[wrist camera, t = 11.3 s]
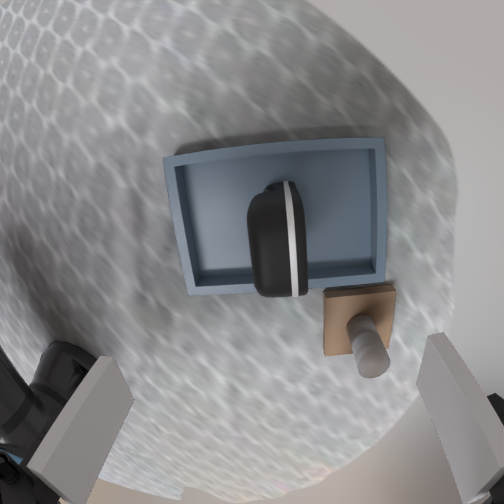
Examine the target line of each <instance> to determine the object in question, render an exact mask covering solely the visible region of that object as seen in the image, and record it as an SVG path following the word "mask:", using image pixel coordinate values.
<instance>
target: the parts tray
mask: <svg viewBox="0 0 504 504" xmlns="http://www.w3.org/2000/svg"><path fill="white" fill-rule="evenodd" d="M163 164H164V171H165V177H166V183H167V190H168V196H169V202H170V207H171V213H172V219H173V224H174V230H175V235H176V240H177V245H178V250H179V255H180V260H181V265H182V270H183V274H184V279H185V284H186V288H187V293H188V296H197V295H219V294H238V293H255V292H257V290H256V289H255V286H254V281H253V273H252V264H251V256H250V247H249V239H248V230H247V211H248V208H249V204H250V202H251V200H252V199H253V198H254V196H255V195H257V194H259V193H263V191H264V189H265V188H266V187H267V186H268V185H270V184H274V183H277V182H283V181H288V182H290V181H292V182H294V183H295V185H296V188H297V190H298V191H299V194H300V196H301V199H302V202H303V207H304V214H305V225H306V242H307V262H308V289H312V288H324V287H336V286H347V285H357V284H368V283H378V282H385V268H386V248H387V173H386V154H385V139H384V137H362V138H329V139H310V140H295V141H283V142H272V143H261V144H252V145H243V146H235V147H227V148H220V149H213V150H206V151H199V152H193V153H187V154H181V155H175V156H170V157H164V158H163Z"/></svg>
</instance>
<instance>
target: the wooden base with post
mask: <svg viewBox="0 0 504 504" xmlns="http://www.w3.org/2000/svg"><path fill="white" fill-rule="evenodd" d="M323 292H324V335H323V349H324V355H325V356H333V355H342V354H351V353H353V354H354V357H355V361H356V364H357V368H358V371H359V374H360V375H361V376H363V377H365V378H375V377H378V376H380V375H382V374H383V373H384V372H386V370H387V369H388V368H389V366H390V358H389V356H388V354H387V351H386V349H388V348H389V342H390V335H391V329H392V322H393V314H394V307H395V298H396V290H395V288H394V287H393V285H392V284H391V285H382V286H372V287H362V288H352V289H341V290H330V291H323Z"/></svg>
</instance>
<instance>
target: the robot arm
mask: <svg viewBox="0 0 504 504" xmlns="http://www.w3.org/2000/svg"><path fill="white" fill-rule="evenodd" d="M416 385H417V387H418V389H419V391H420V394H421V396H422V398H423V400H424V403H425V405H426V407H427V409H428V412H429V414H430V416H431V419H432V421H433V423H434V426H435V428H436V431H437V433H438V436H439V438H440V441H441V443H442V446H443V449H444V451H445V454H446V456H447V459H448V462H449V464H450V467H451V470H452V473H453V475H454V478H455V481H456V484H457V487H458V490H459V493H460V497H461V500H462V503H463V504H469V503H472V502H474V501H476V500H478V499H480V498H482V497H483V496H484V495H485V494H486V493H487V492H488V491H489V492H490V494H491V496H490V497H489V498H488V499H487V500H486V501H485V502H483V504H504V399H502V398H501V397H500V396H498V395H497V394H496V393H494V394H492V395H489V396H487V397H486V395H485V393H484V392H483V390H482V389H481V387H480V385H479V384H478V382H477V381H476V379H475V377H474V376H473V374H472V373H471V371H470V370H469V368H468V367H467V365H466V364H465V362H464V361H463V360H462V358H461V356H460V355H459V353H458V352H457V351H456V349H455V348H454V346H453V345H452V343H451V342H450V341H449V339H448V338H447V336H446V335H445V333H444V332H442V333H437V334H433V335H428V338H427V342H426V347H425V351H424V355H423V359H422V364H421V367H420V371H419V375H418V379H417V382H416ZM134 400H135V399H134V398H133V396H132V394H131V392H130V390H129V388H128V386H127V384H126V382H125V380H124V378H123V376H122V374H121V372H120V369H119V367H118V365H117V363H116V361H115V359H114V357H110V356H100V357H99V358H98V359H97V360H96V359H94V358H93V357H92V356H91V355H89V354H88V353H86V352H85V351H83V350H82V349H80V348H78V347H76V346H74V345H71V344H69V343H65V342H55V343H52V344H51V345H50V346H49V347H48V348H47V349H46V350H45V351H44V352H43V354H42V356H41V359H40V363H39V365H38V367H37V370H36V372H35V375H34V378H33V381H32V382H31V384H30V385H29V386H28V385H27V383H26V382H25V381H24V379H23V378H22V377H21V375H20V374H19V373H18V371H17V370H16V369H15V367H14V366H13V364H12V363H11V361H10V360H9V358H8V357H7V355H6V354H5V352H4V351H3V349H2V347H1V346H0V504H61V503H60V502H59V501H58V500H59V498H60V497H61V498H62V499H63V500H65V501H66V502H67V503H68V504H86V502H87V500H88V498H89V495H90V493H91V491H92V489H93V486H94V484H95V482H96V480H97V478H98V475H99V473H100V471H101V469H102V467H103V465H104V462H105V460H106V458H107V456H108V454H109V452H110V450H111V447H112V445H113V443H114V441H115V439H116V437H117V435H118V433H119V431H120V429H121V427H122V424H123V422H124V420H125V418H126V416H127V414H128V412H129V410H130V408H131V406H132V404H133V402H134Z"/></svg>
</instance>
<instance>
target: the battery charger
mask: <svg viewBox="0 0 504 504" xmlns="http://www.w3.org/2000/svg"><path fill="white" fill-rule="evenodd" d="M247 230H248V239H249V247H250V256H251V264H252V273H253V281H254V286H255V289H256V290H257V292H258V293H259V294H260V295H262V296H264V297H272V298H273V297H288V296H292V298H293V297H298V296H302V295H306V294H307V292H308V262H307V242H306V225H305V214H304V207H303V202H302V199H301V196H300V194H299V191H298V190H297V188H296V185H295V183H294V182H292V181H290V182H288V181H283V182H277V183H274V184H270V185H268V186H267V187H266V188H265V189H264V191H263V193H259V194H257V195H255V196H254V198H253V199H252V200H251V202H250V204H249V208H248V211H247Z"/></svg>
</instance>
